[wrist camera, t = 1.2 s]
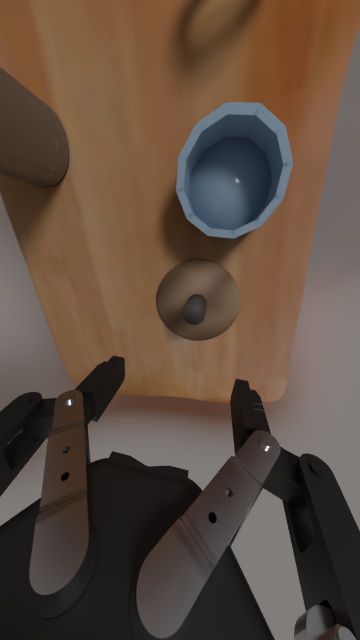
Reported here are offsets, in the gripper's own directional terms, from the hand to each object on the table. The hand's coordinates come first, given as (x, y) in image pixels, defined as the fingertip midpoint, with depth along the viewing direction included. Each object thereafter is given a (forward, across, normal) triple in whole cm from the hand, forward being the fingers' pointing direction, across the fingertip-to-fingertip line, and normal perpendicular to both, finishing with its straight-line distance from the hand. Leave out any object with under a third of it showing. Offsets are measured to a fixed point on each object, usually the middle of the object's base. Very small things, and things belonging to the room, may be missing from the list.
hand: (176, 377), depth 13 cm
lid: (+18, 0, 0) cm, 18 cm away
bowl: (+18, -2, -15) cm, 23 cm away
